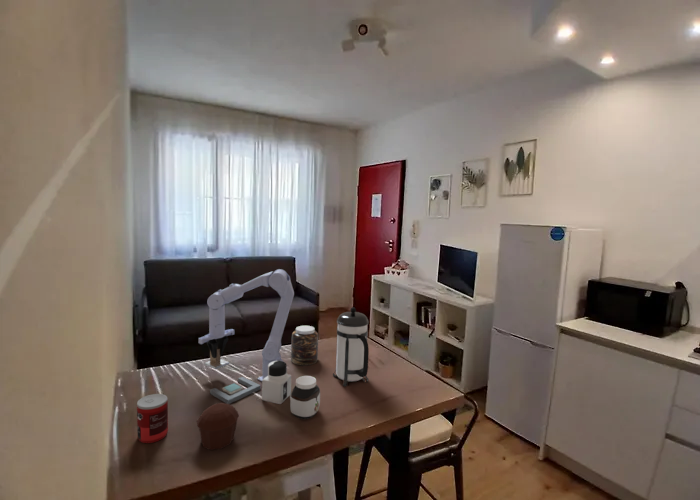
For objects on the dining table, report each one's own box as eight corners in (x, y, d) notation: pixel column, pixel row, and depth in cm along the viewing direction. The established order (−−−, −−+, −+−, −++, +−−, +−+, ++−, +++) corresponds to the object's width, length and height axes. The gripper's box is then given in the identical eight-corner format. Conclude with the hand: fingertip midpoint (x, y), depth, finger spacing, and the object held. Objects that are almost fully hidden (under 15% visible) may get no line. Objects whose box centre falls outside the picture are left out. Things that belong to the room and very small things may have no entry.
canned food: (145, 427, 107) (144, 393, 106) (172, 427, 108) (172, 393, 107) (131, 444, 99) (131, 407, 98) (161, 443, 100) (160, 407, 99)
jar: (310, 353, 168) (311, 323, 167) (321, 362, 158) (322, 330, 157) (287, 357, 162) (288, 326, 161) (297, 367, 152) (297, 334, 151)
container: (291, 394, 130) (292, 360, 129) (280, 404, 123) (281, 369, 121) (273, 390, 132) (273, 357, 131) (261, 400, 125) (262, 365, 124)
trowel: (218, 359, 144) (218, 344, 143) (228, 364, 140) (228, 348, 139) (204, 364, 139) (204, 348, 138) (215, 369, 135) (214, 353, 134)
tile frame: (260, 389, 133) (260, 385, 133) (228, 404, 122) (228, 400, 121) (242, 380, 139) (242, 376, 139) (210, 393, 128) (210, 389, 128)
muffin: (217, 458, 95) (218, 423, 94) (187, 446, 100) (187, 412, 99) (246, 433, 106) (247, 402, 105) (218, 423, 111) (218, 393, 109)
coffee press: (324, 383, 139) (327, 309, 136) (340, 368, 154) (343, 301, 151) (366, 393, 133) (369, 316, 130) (378, 376, 147) (382, 306, 144)
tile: (242, 390, 132) (242, 387, 132) (230, 395, 128) (230, 392, 128) (234, 386, 135) (234, 382, 135) (222, 391, 131) (222, 387, 131)
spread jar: (305, 424, 112) (306, 389, 111) (278, 413, 117) (278, 380, 116) (326, 407, 122) (327, 375, 121) (300, 398, 128) (300, 367, 127)
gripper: (227, 316, 146) (226, 348, 147) (193, 325, 134) (194, 359, 135) (237, 320, 141) (237, 352, 143) (204, 329, 130) (204, 364, 131)
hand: (217, 356), depth 139 cm, fingers closed on trowel
